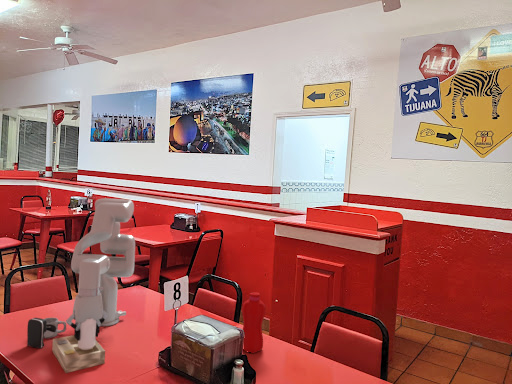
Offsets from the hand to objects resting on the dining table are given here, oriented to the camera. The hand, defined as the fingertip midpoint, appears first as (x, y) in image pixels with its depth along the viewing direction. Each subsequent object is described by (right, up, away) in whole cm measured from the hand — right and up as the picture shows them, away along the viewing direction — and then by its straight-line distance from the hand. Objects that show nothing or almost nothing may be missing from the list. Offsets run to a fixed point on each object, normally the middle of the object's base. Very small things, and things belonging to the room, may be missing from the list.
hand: (86, 337), depth 156 cm
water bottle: (+62, -13, +23) cm, 67 cm away
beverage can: (0, -4, 0) cm, 4 cm away
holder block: (-5, -9, +4) cm, 11 cm away
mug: (-24, -7, +22) cm, 33 cm away
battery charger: (-25, -8, +10) cm, 28 cm away
